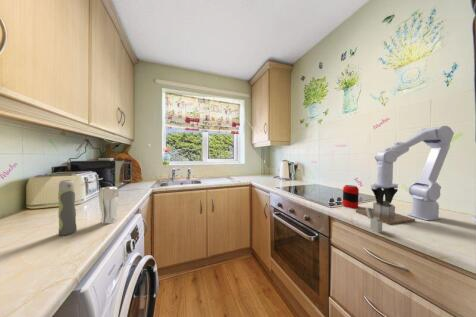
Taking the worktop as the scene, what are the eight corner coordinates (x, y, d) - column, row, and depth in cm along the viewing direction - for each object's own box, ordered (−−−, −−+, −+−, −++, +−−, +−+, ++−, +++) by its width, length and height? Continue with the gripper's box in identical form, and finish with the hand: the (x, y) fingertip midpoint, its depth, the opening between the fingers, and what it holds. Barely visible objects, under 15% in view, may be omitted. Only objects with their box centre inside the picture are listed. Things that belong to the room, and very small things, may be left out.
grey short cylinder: (382, 209, 88) (382, 199, 88) (391, 212, 84) (392, 202, 84) (375, 210, 87) (375, 200, 87) (384, 213, 83) (385, 202, 83)
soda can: (343, 203, 107) (343, 184, 106) (358, 205, 102) (358, 185, 102) (342, 206, 101) (342, 186, 100) (357, 209, 96) (358, 187, 96)
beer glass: (122, 220, 79) (122, 187, 78) (105, 225, 72) (104, 190, 72) (113, 217, 81) (112, 185, 81) (96, 222, 75) (95, 188, 75)
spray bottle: (61, 237, 62) (59, 182, 62) (56, 234, 65) (55, 180, 64) (78, 231, 67) (77, 180, 66) (73, 229, 69) (72, 179, 68)
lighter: (382, 233, 68) (383, 212, 67) (377, 233, 68) (378, 212, 67) (368, 225, 75) (369, 207, 75) (364, 225, 75) (365, 207, 75)
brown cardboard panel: (379, 210, 95) (379, 199, 95) (415, 221, 80) (415, 208, 79) (355, 212, 91) (356, 200, 91) (388, 224, 76) (388, 210, 76)
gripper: (387, 174, 90) (386, 199, 91) (365, 174, 87) (364, 201, 87) (403, 175, 84) (402, 203, 84) (379, 176, 80) (378, 205, 81)
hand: (383, 203), depth 85 cm, fingers open, 5 cm apart
